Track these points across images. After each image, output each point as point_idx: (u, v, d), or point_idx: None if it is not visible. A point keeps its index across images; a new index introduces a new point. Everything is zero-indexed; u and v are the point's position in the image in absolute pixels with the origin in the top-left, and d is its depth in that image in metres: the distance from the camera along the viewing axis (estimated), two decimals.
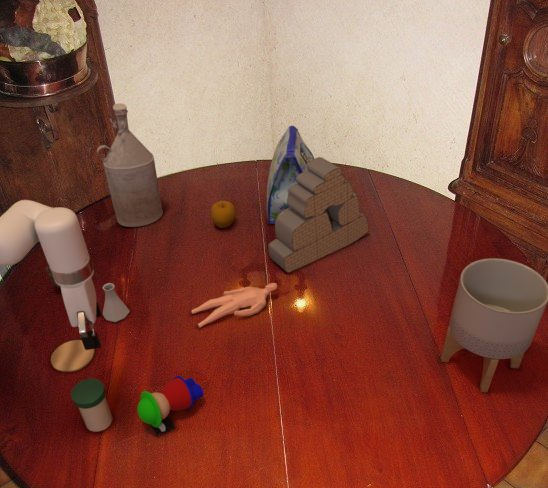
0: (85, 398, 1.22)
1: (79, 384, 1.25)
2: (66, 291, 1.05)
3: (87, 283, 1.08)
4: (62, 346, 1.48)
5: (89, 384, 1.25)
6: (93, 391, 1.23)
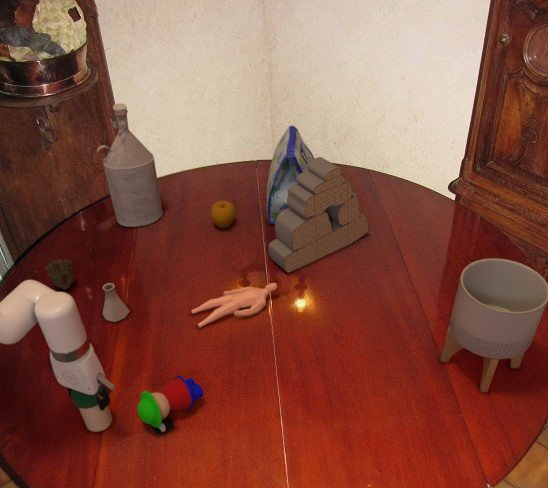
0: (85, 398, 1.22)
1: None
2: (85, 362, 1.13)
3: None
4: None
5: None
6: None
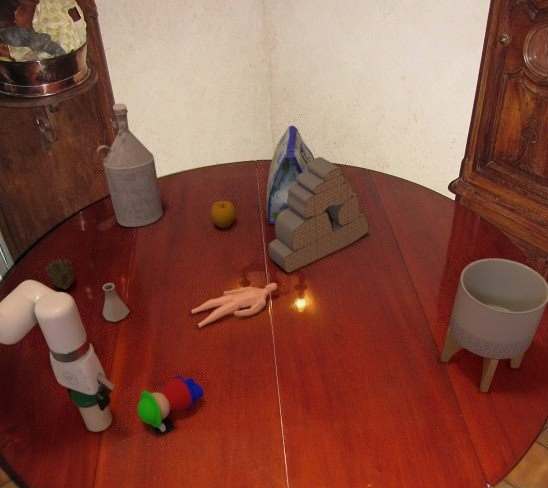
0: None
1: (76, 398, 1.22)
2: (86, 362, 1.13)
3: None
4: None
5: None
6: None
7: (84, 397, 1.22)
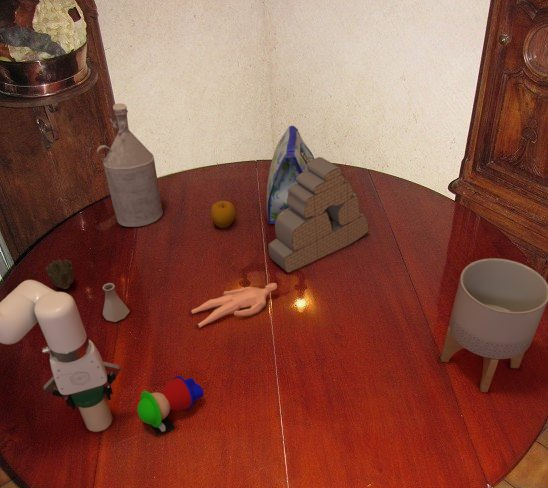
0: None
1: (84, 400, 1.21)
2: (94, 350, 1.15)
3: None
4: None
5: (79, 394, 1.22)
6: None
7: (91, 395, 1.22)
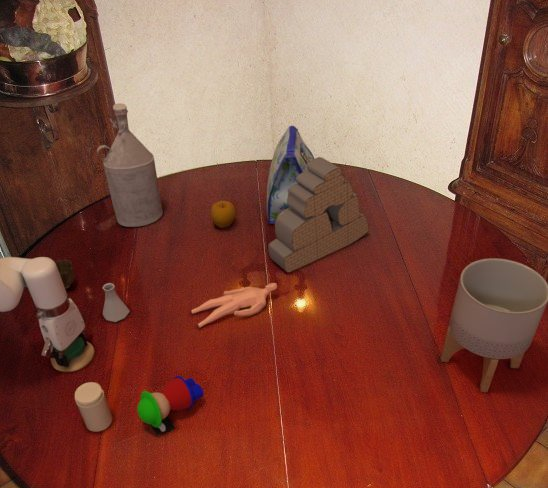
0: None
1: (76, 350, 1.42)
2: (71, 299, 1.38)
3: None
4: None
5: (67, 350, 1.42)
6: None
7: (77, 345, 1.43)
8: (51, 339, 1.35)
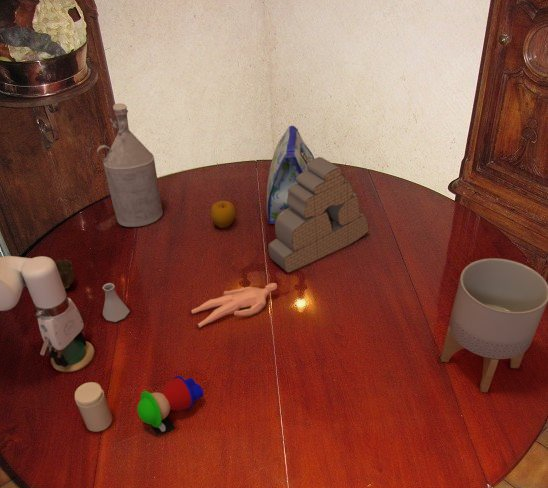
0: (72, 344, 1.46)
1: (77, 355, 1.43)
2: (70, 299, 1.38)
3: None
4: None
5: (68, 355, 1.43)
6: (65, 349, 1.45)
7: (78, 350, 1.44)
8: (50, 338, 1.35)
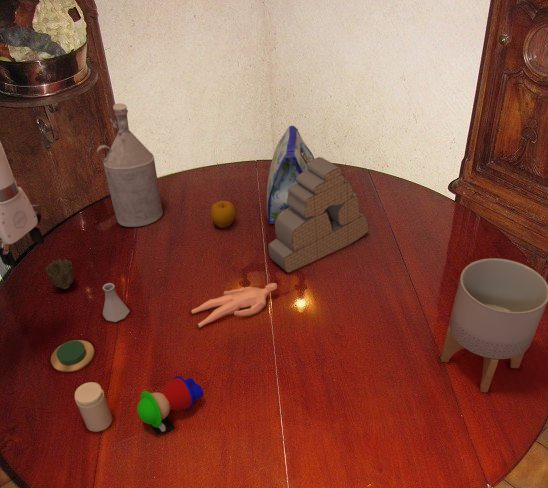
0: (72, 344, 1.46)
1: (77, 355, 1.43)
2: (20, 188, 1.25)
3: None
4: None
5: (68, 355, 1.43)
6: (65, 350, 1.45)
7: (78, 350, 1.45)
8: None
